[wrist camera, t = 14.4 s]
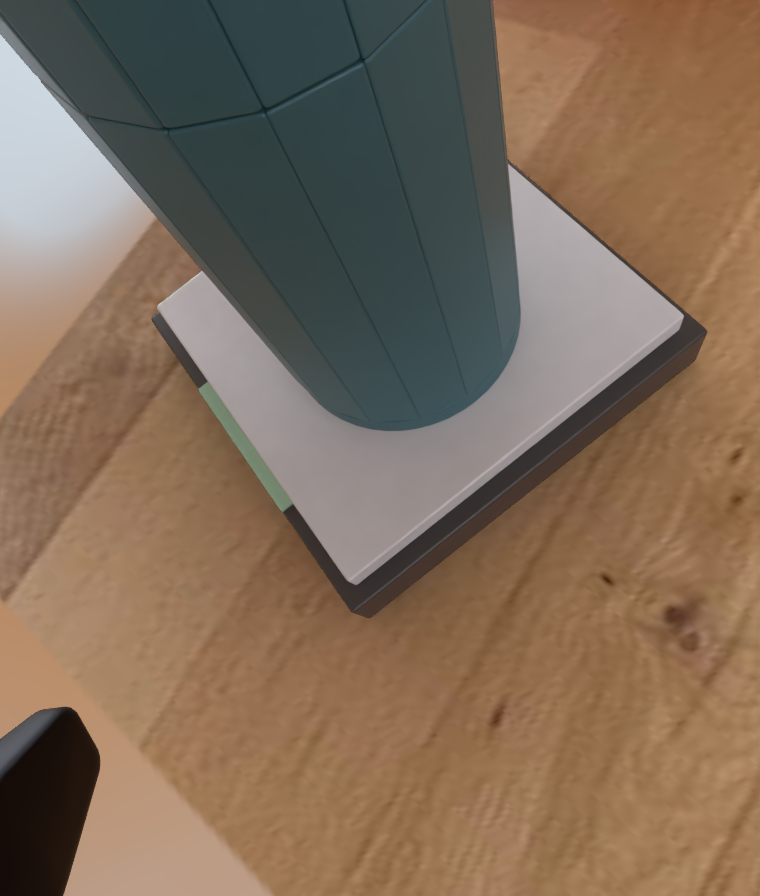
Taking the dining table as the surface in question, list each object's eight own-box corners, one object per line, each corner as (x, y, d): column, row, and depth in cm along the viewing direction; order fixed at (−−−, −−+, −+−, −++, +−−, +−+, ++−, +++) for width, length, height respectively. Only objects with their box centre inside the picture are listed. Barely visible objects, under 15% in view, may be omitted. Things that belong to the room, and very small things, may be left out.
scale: (369, 619, 20) (343, 610, 17) (176, 342, 24) (135, 305, 22) (696, 359, 20) (715, 315, 17) (442, 134, 25) (430, 75, 22)
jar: (528, 422, 18) (469, -124, 6) (285, 440, 19) (-162, 36, 7) (514, 208, 20) (451, -517, 8) (297, 239, 21) (-33, -330, 9)
